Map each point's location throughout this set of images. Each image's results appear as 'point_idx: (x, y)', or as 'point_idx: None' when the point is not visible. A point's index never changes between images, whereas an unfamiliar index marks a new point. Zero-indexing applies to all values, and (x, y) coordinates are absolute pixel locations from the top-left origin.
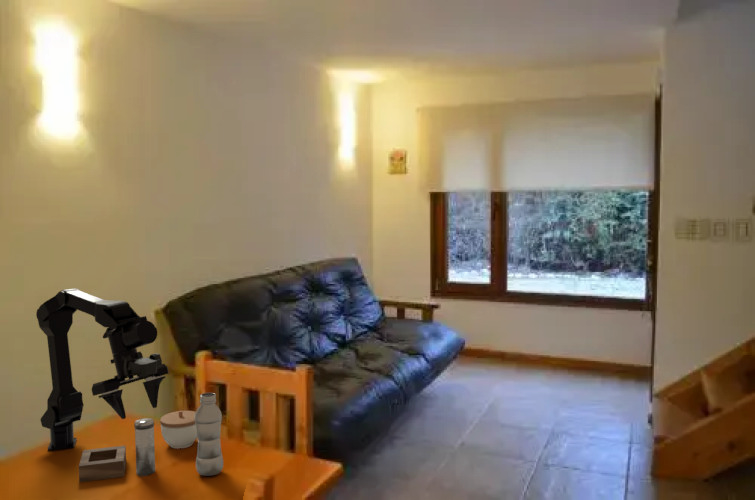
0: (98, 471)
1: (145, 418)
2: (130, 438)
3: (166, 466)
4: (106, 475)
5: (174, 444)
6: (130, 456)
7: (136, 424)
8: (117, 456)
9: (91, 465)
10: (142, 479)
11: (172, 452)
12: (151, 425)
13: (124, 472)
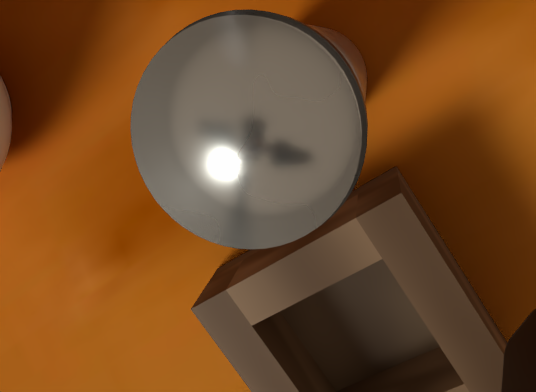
0: (470, 292)
1: (154, 181)
2: (12, 377)
3: (216, 7)
4: (444, 246)
5: (7, 96)
6: (172, 272)
7: (351, 181)
8: (349, 266)
9: (496, 344)
10: (408, 38)
11: (55, 89)
12: (265, 11)
13: (356, 189)
